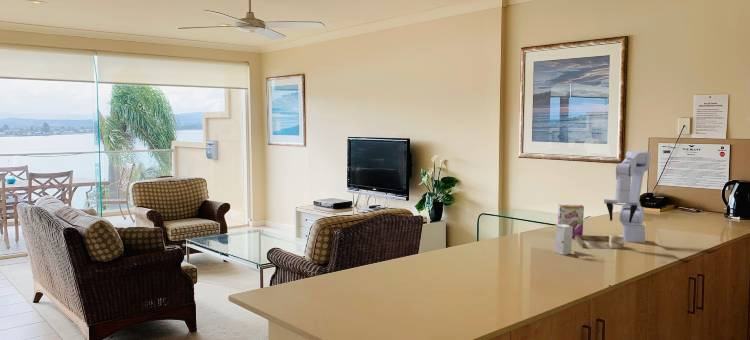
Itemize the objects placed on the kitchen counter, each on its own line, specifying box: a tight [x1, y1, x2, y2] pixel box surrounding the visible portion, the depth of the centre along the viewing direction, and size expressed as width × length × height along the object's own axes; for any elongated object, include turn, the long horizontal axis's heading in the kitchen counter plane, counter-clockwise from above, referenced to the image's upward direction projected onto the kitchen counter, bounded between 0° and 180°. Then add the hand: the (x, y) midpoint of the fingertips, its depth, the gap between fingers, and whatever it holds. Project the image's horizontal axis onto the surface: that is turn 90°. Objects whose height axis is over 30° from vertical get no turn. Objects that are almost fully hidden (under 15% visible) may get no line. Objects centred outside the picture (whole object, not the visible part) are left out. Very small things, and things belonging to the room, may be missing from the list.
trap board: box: [574, 234, 626, 251], centre depth 265 cm, size 18×20×3 cm
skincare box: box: [554, 224, 573, 256], centre depth 251 cm, size 6×4×12 cm
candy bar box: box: [557, 203, 585, 238], centre depth 284 cm, size 11×5×16 cm, turn 84°
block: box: [608, 234, 625, 248], centre depth 259 cm, size 5×5×5 cm
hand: (620, 221), depth 256 cm, fingers open, 7 cm apart
